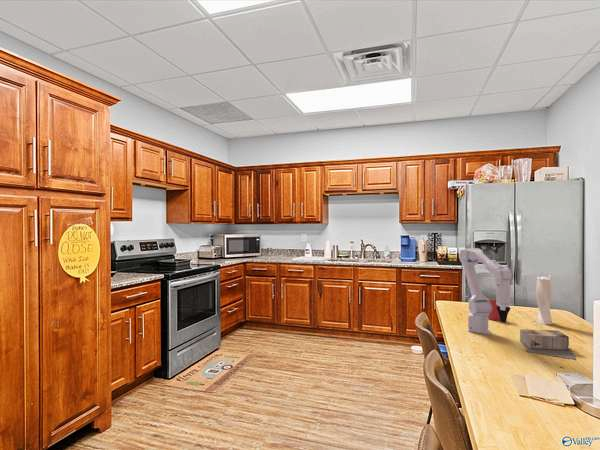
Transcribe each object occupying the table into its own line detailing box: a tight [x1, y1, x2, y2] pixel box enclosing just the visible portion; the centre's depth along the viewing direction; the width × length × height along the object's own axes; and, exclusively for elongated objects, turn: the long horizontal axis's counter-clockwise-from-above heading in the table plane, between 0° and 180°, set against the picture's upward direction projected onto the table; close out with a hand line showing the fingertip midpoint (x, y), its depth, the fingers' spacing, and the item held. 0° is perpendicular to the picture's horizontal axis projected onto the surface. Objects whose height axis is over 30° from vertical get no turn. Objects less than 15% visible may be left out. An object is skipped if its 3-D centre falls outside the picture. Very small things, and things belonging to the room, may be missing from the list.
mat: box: [525, 346, 577, 361], centre depth 152 cm, size 17×14×1 cm
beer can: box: [487, 297, 500, 321], centre depth 203 cm, size 7×7×12 cm
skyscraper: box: [533, 274, 555, 326], centre depth 194 cm, size 8×8×28 cm
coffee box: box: [519, 328, 570, 350], centre depth 157 cm, size 9×6×16 cm
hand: (503, 322), depth 164 cm, fingers closed
